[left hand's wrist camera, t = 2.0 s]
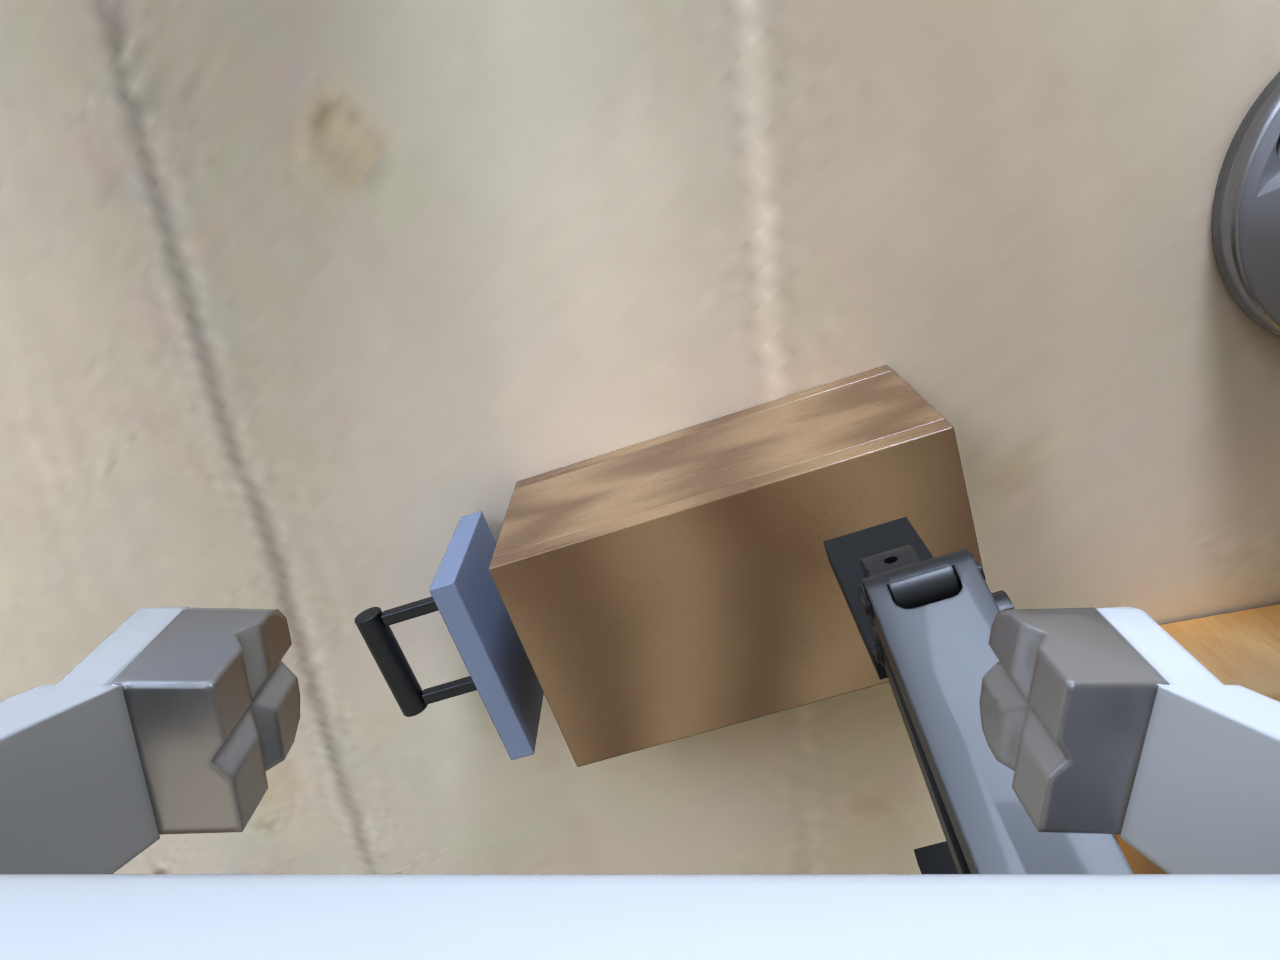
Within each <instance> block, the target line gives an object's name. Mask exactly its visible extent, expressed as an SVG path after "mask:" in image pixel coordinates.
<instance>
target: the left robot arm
mask: <svg viewBox="0 0 1280 960" xmlns="http://www.w3.org/2000/svg"><path fill="white" fill-rule="evenodd" d="M291 644H292V643H291V638H290V633H289V629H288V624H287V619H286V617H285V616H284V615H283V614H282V613H281V612H280V611H279V610H278V609H232V608H189V607H162V608H145V609H138V610H137V611H136V612H135V613H134V614H133V615H132V616H131V617H130V618H128V619H127V620H126V621H125V622H124V623H123V624H122V625H121V626H120V627H119V628H118V629H116V630H115V631H114V632H113V633H112V634H111V635H110V636H109V637H108V638H107V639H106V640H104V641H103V642H102V643H101V644H100V645H99V646H98V647H97V648H96V649H95V650H94V651H92V652H91V653H90V654H89V655H88V656H87V657H86V658H85V659H84V660H83V661H82V662H80V663H79V664H78V665H77V666H76V667H75V668H74V669H73V670H72V671H71V672H69V673H68V674H67V675H66V676H65V677H64V678H63V679H62V680H61V681H60V682H59V683H57V684H56V685H40V686H38V687H35V688H33V689H30V690H28V691H25V692H23V693H20V694H18V695H16V696H13V697H11V698H8V699H6V700H3V701H1V702H0V960H1280V702H1279V701H1277V700H1274V699H1272V698H1269V697H1267V696H1264V695H1262V694H1260V693H1257V692H1255V691H1252V690H1250V689H1247V688H1245V687H1243V686H1240V685H1224V684H1223V683H1221V682H1220V681H1219V680H1218V679H1217V678H1216V677H1215V676H1214V675H1213V674H1212V673H1211V672H1210V671H1208V670H1207V669H1206V668H1205V667H1204V666H1203V665H1202V664H1201V663H1200V662H1199V661H1198V660H1196V659H1195V658H1194V657H1193V656H1192V655H1191V654H1190V653H1189V652H1188V651H1187V650H1186V649H1184V648H1183V647H1182V646H1181V645H1180V644H1179V643H1178V642H1177V641H1176V640H1175V639H1174V638H1173V637H1171V636H1170V635H1169V634H1168V633H1167V632H1166V631H1165V630H1164V629H1163V628H1162V627H1161V626H1159V625H1158V624H1157V623H1156V622H1155V621H1154V620H1153V619H1152V618H1151V617H1150V616H1149V615H1147V614H1146V613H1145V612H1144V611H1143V610H1140V609H1137V608H1134V607H1111V608H1062V609H1021V610H1004V611H998V612H997V615H996V617H995V619H994V621H993V623H992V626H991V632H990V637H989V643H988V644H989V646H990V647H991V649H992V650H993V652H994V653H995V655H996V657H997V658H998V660H999V661H998V662H997V663H996V664H995V665H994V666H993V667H992V668H991V670H990V671H989V672H988V673H987V674H986V675H985V676H984V677H983V679H982V687H981V695H980V702H979V704H980V714H981V725H982V729H983V733H984V736H985V739H986V742H987V745H988V747H989V748H990V750H991V752H992V754H993V756H994V757H995V759H996V760H997V761H999V762H1000V763H1002V764H1003V765H1005V766H1007V767H1008V768H1010V769H1011V770H1013V771H1015V773H1014V778H1013V784H1012V789H1013V790H1014V792H1015V794H1016V796H1017V797H1018V799H1019V801H1020V802H1021V804H1022V806H1023V808H1024V809H1025V811H1026V813H1027V814H1028V816H1029V818H1030V819H1031V821H1032V823H1033V825H1034V826H1035V828H1036V830H1037V831H1038V832H1055V833H1092V834H1121V835H1120V838H1121V839H1122V840H1123V841H1125V842H1126V843H1127V844H1129V845H1130V846H1131V847H1133V848H1134V849H1135V850H1137V851H1138V852H1139V853H1141V854H1142V855H1143V856H1145V857H1146V858H1147V859H1149V860H1150V861H1151V862H1153V863H1154V864H1155V865H1157V866H1158V867H1159V868H1161V869H1162V870H1163V871H1165V872H1166V873H1167V874H113V873H114V872H116V871H117V870H118V869H120V868H121V867H122V866H124V865H125V864H126V863H128V862H129V861H130V860H132V859H133V858H134V857H136V856H137V855H138V854H140V853H141V852H142V851H144V850H145V849H146V848H148V847H149V846H150V845H152V844H153V843H154V842H156V841H157V840H158V839H160V835H159V834H187V833H223V832H243V830H244V828H245V826H246V825H247V823H248V821H249V820H250V818H251V816H252V814H253V813H254V811H255V809H256V808H257V806H258V804H259V802H260V801H261V799H262V797H263V796H264V794H265V792H266V790H267V789H268V784H267V778H266V773H265V771H267V770H269V769H270V768H272V767H273V766H275V765H277V764H278V763H280V762H281V761H283V760H284V759H285V757H286V756H287V754H288V752H289V750H290V748H291V746H292V744H293V743H294V740H295V735H296V731H297V727H298V723H299V719H300V692H299V686H298V679H297V677H296V676H295V675H294V674H293V673H292V672H291V671H290V670H289V668H288V667H287V666H286V665H285V664H284V663H283V662H282V661H281V660H282V658H283V657H284V655H285V653H286V652H287V650H288V649H289V647H290V646H291Z"/></svg>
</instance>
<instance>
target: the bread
mask: <svg viewBox="0 0 1280 960" xmlns="http://www.w3.org/2000/svg"><path fill="white" fill-rule="evenodd" d="M1159 626H1161V627H1162V628H1163V629H1164V630H1165V631H1166V632H1167V633H1168V634H1169V635H1170V636H1171V637H1173V638H1174V639H1175V640H1176V641H1177V642H1178V643H1179V644H1180V645H1181V646H1182V647H1183V648H1184V649H1186V650H1187V651H1188V652H1189V653H1190V654H1191V655H1192V656H1193V657H1194V658H1195V659H1196V660H1198V661H1199V662H1200V663H1201V664H1202V665H1203V666H1204V667H1205V668H1206V669H1207V670H1208V671H1210V672H1211V673H1212V674H1213V675H1214V676H1215V677H1216V678H1217V679H1218V680H1219V681H1220V682H1221V683H1223V684H1224V685H1240V686H1243V687H1245V688H1247V689H1250V690H1252V691H1255V692H1257V693H1260V694H1262V695H1264V696H1267V697H1269V698H1272V699H1274V700H1277V701H1279V702H1280V604H1276V605H1271V606H1265V607H1259V608H1254V609H1248V610H1242V611H1236V612H1231V613H1225V614H1219V615H1214V616H1208V617H1202V618H1197V619H1191V620H1185V621H1180V622H1174V623H1168V624H1162V625H1159ZM1120 835H1121V834H1117V842H1118V844H1119V846H1120V848H1121V850H1122V852H1123V853H1124V855H1125V857H1126V859H1127V861H1128V863H1129V865H1130V867H1131V869H1132V871H1133V873H1134V874H1167V873H1166V872H1165V871H1163V870H1162V869H1161V868H1159V867H1158V866H1157V865H1155V864H1154V863H1153V862H1151V861H1150V860H1149V859H1147V858H1146V857H1145V856H1143V855H1142V854H1141V853H1139V852H1138V851H1137V850H1135V849H1134V848H1133V847H1131V846H1130V845H1129V844H1127V843H1126V842H1125V841H1123V840H1122V839H1121V838H1120Z"/></svg>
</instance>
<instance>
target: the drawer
mask: <svg viewBox="0 0 1280 960" xmlns="http://www.w3.org/2000/svg"><path fill="white" fill-rule="evenodd" d="M495 547H496V543H495V540H494V538H493V536H492V533H491V531H490V529H489V527H488V524H487V522H486V520H485V517H484V515H483V513H482V512H477V513H474V514H471V515H468V516H465V517H462V518H461V519H460V521H459V523H458V526H457V528H456V530H455V532H454V535H453V537H452V539H451V542H450V544H449V546H448V548H447V551H446V553H445V555H444V557H443V560H442V562H441V564H440V567H439V569H438V571H437V573H436V576H435V578H434V580H433V582H432V585H431V587H430V589H429V591H430V593H431V595H432V597H429V598H425V599H422V600H419V601H416V602H412V603H409V604H406V605H402V606H399V607H396V608H393V609H389V610H386V611H384V612H383V613H382V611H381V609H380V608H379V607H372V608H369V609H367V610H365V611H363V612H361V613H360V614H359V615H358V616H357V617H356V618H355V623H356V625H357V627H358V629H359V631H360V633H361V634H362V636H363V638H364V640H365V642H366V644H367V646H368V648H369V650H370V652H371V653H372V655H373V657H374V659H375V661H376V663H377V665H378V667H379V669H380V670H381V672H382V674H383V676H384V678H385V680H386V682H387V684H388V686H389V688H390V689H391V691H392V693H393V695H394V697H395V699H396V701H397V703H398V705H399V706H400V708H401V710H402V712H403V714H404V715H405V716H407V717H411V716H415V715H417V714H419V713H421V712H422V711H423V710H424V709H425V708H426V707H427V705H428V704H430V703H433V702H437V701H440V700H444V699H447V698H451V697H454V696H458V695H461V694H465V693H468V692H471V691H475V690H478V692H479V694H480V696H481V698H482V701H483V703H484V705H485V707H486V709H487V711H488V713H489V715H490V717H491V719H492V721H493V723H494V725H495V727H496V730H497V732H498V734H499V736H500V738H501V740H502V742H503V744H504V746H505V748H506V750H507V752H508V754H509V756H510V759H511V760H514V759H518V758H521V757H525V756H529V755H532V754H534V751H535V744H536V738H537V732H538V725H539V719H540V713H541V706H542V700H543V694H544V692H543V690H542V687H541V685H540V683H539V681H538V678H537V676H536V674H535V672H534V669H533V667H532V665H531V663H530V661H529V658H528V656H527V654H526V652H525V649H524V647H523V645H522V643H521V641H520V638H519V636H518V634H517V632H516V629H515V627H514V625H513V623H512V620H511V618H510V616H509V614H508V612H507V609H506V607H505V605H504V603H503V600H502V598H501V596H500V594H499V591H498V589H497V587H496V585H495V583H494V580H493V578H492V576H491V574H490V571H489V566H490V563H491V560H492V556H493V553H494V550H495ZM438 610H439V611H440V614H441V616H442V618H443V620H444V622H445V624H446V626H447V628H448V630H449V632H450V634H451V636H452V638H453V640H454V643H455V645H456V647H457V649H458V651H459V653H460V655H461V657H462V659H463V661H464V663H465V665H466V667H467V669H468V672H469V674H470V676H469V677H465V678H462V679H458V680H455V681H452V682H448V683H445V684H441V685H438V686H434V687H431V688H427V689H424V690H423V691H422V689H421V687H420V685H419V683H418V681H417V679H416V677H415V675H414V673H413V671H412V669H411V667H410V665H409V663H408V662H407V660H406V658H405V656H404V654H403V652H402V650H401V648H400V646H399V644H398V642H397V640H396V638H395V636H394V634H393V632H392V630H391V628H390V626H389V625H392V624H395V623H398V622H402V621H405V620H408V619H411V618H415V617H418V616H421V615H425V614H428V613H431V612H435V611H438Z"/></svg>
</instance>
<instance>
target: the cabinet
mask: <svg viewBox="0 0 1280 960" xmlns="http://www.w3.org/2000/svg"><path fill="white" fill-rule="evenodd" d="M903 517H907V519H908V520H909V522H910V523H911V525H912V526H913V528H914V529H915V531H916V532H917V534H918V535H919V537H920V538H921V539H922V541H923V542H924V544H925V545H926V547H927V548H928V550H929V551H930V553H931V554H932V556H933V557H938V556H941V555H945V554H949V553H952V552H955V551H959V550H962V549H967V550H968V551H969V552H971V553H972V555H973V557H974V560H975V562H977V561H978V562H979V564H980V565H981V567H982V562H981V557H980V553H979V548H978V543H977V538H976V533H975V528H974V524H973V519H972V514H971V509H970V504H969V499H968V495H967V490H966V485H965V480H964V475H963V470H962V466H961V461H960V456H959V451H958V446H957V441H956V436H955V432H954V428H953V426H952V425H950V424H949V423H948V422H947V421H946V420H945V419H944V418H943V417H942V416H941V415H940V414H939V413H938V412H937V411H936V410H935V409H934V408H933V407H932V406H931V405H930V404H928V403H927V402H926V401H925V400H924V399H923V398H922V397H921V396H920V395H919V394H918V393H917V392H916V391H915V390H914V389H912V388H911V387H910V386H909V385H908V384H907V383H906V382H905V381H904V380H903V379H902V378H901V377H900V376H899V375H898V374H896V373H895V372H894V371H893V370H892V369H891V368H890V367H889V366H888V365H885V366H882V367H879V368H876V369H873V370H870V371H866V372H863V373H860V374H857V375H854V376H851V377H847V378H844V379H841V380H838V381H835V382H832V383H828V384H825V385H822V386H819V387H816V388H813V389H809V390H806V391H803V392H800V393H797V394H794V395H790V396H787V397H784V398H781V399H778V400H775V401H771V402H768V403H765V404H762V405H759V406H756V407H752V408H749V409H746V410H743V411H740V412H737V413H733V414H730V415H727V416H724V417H721V418H718V419H714V420H711V421H708V422H705V423H702V424H699V425H695V426H692V427H689V428H686V429H683V430H680V431H676V432H673V433H670V434H667V435H664V436H661V437H657V438H654V439H651V440H648V441H645V442H642V443H638V444H635V445H632V446H629V447H626V448H623V449H619V450H616V451H613V452H610V453H607V454H604V455H600V456H597V457H594V458H591V459H588V460H585V461H581V462H578V463H575V464H572V465H569V466H566V467H562V468H559V469H556V470H553V471H550V472H547V473H543V474H540V475H537V476H534V477H531V478H528V479H524V480H521V481H518V482H517V483H516V486H515V490H514V492H513V495H512V498H511V501H510V504H509V507H508V510H507V513H506V516H505V519H504V522H503V525H502V528H501V531H500V534H499V537H498V541H497V544H496V547H495V550H494V553H493V556H492V560H491V563H490V566H489V571H490V574H491V576H492V578H493V580H494V583H495V585H496V587H497V589H498V591H499V594H500V596H501V598H502V600H503V603H504V605H505V607H506V609H507V612H508V614H509V616H510V618H511V620H512V623H513V625H514V627H515V629H516V632H517V634H518V636H519V638H520V641H521V643H522V645H523V647H524V649H525V652H526V654H527V656H528V658H529V661H530V663H531V665H532V667H533V669H534V672H535V674H536V676H537V678H538V681H539V683H540V685H541V687H542V690H543V692H544V694H545V696H546V698H547V701H548V703H549V705H550V707H551V710H552V712H553V714H554V716H555V718H556V721H557V723H558V725H559V727H560V730H561V732H562V734H563V736H564V739H565V741H566V743H567V745H568V747H569V750H570V752H571V754H572V756H573V759H574V761H575V763H576V765H577V766H578V767H579V766H583V765H587V764H590V763H594V762H598V761H601V760H605V759H608V758H612V757H616V756H619V755H623V754H627V753H630V752H634V751H638V750H641V749H645V748H649V747H652V746H656V745H660V744H663V743H667V742H671V741H674V740H678V739H681V738H685V737H689V736H692V735H696V734H700V733H703V732H707V731H711V730H714V729H718V728H722V727H725V726H729V725H733V724H736V723H740V722H743V721H747V720H751V719H754V718H758V717H762V716H765V715H769V714H773V713H776V712H780V711H784V710H787V709H791V708H795V707H798V706H802V705H805V704H809V703H813V702H816V701H820V700H824V699H827V698H831V697H835V696H838V695H842V694H846V693H849V692H853V691H857V690H860V689H864V688H868V687H871V686H875V685H878V684H882V683H886V682H889V679H888V678H885V679H881V680H880V679H879V676H878V674H877V672H876V669H875V667H874V665H873V662H872V660H871V658H870V656H869V653H868V651H867V649H866V646H865V644H864V642H863V639H862V637H861V635H860V632H859V630H858V628H857V625H856V623H855V621H854V618H853V616H852V614H851V611H850V609H849V607H848V604H847V602H846V600H845V598H844V595H843V593H842V591H841V588H840V586H839V584H838V581H837V579H836V577H835V574H834V572H833V570H832V567H831V565H830V563H829V560H828V557H827V553H826V550H825V546H824V543H823V541H827V540H830V539H833V538H837V537H840V536H843V535H847V534H850V533H853V532H857V531H860V530H863V529H866V528H870V527H873V526H876V525H880V524H883V523H886V522H890V521H893V520H896V519H900V518H903ZM982 570H983V567H982Z"/></svg>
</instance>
